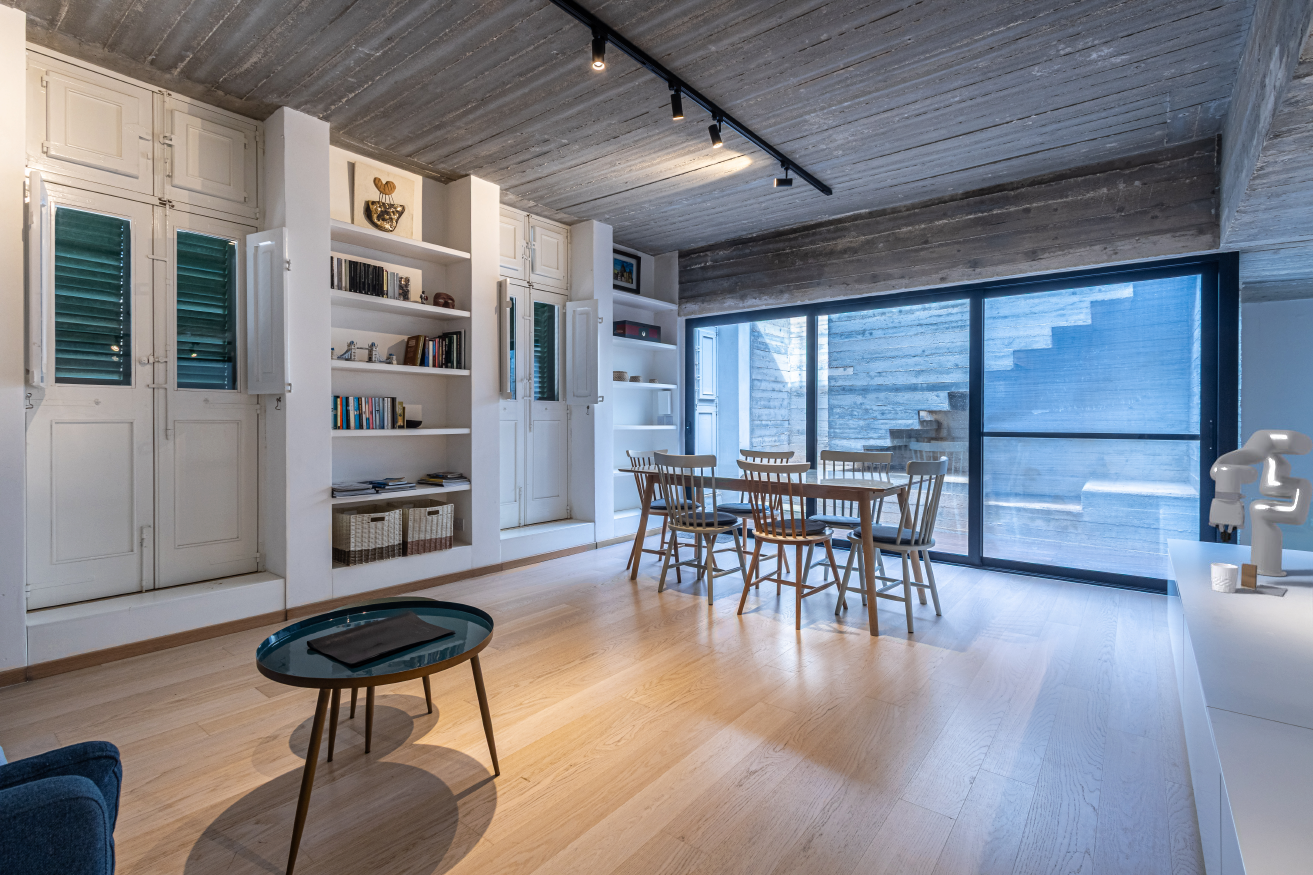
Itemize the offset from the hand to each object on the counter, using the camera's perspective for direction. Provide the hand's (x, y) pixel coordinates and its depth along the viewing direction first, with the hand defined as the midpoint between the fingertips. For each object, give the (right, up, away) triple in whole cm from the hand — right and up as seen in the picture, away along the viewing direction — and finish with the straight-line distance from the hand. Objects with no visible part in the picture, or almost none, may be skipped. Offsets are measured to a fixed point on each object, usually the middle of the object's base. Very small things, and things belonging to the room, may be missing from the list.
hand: (1225, 541), depth 250 cm
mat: (+9, -18, -9) cm, 22 cm away
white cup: (-8, -18, -8) cm, 22 cm away
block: (+5, -17, -4) cm, 19 cm away
